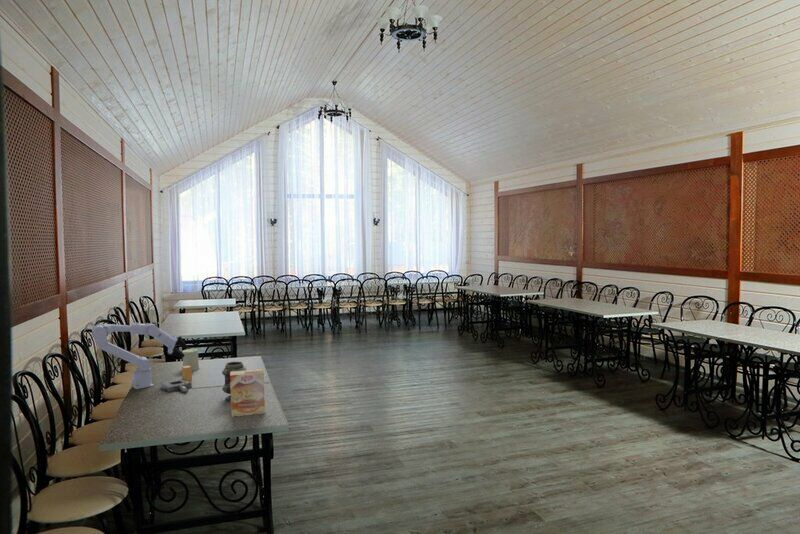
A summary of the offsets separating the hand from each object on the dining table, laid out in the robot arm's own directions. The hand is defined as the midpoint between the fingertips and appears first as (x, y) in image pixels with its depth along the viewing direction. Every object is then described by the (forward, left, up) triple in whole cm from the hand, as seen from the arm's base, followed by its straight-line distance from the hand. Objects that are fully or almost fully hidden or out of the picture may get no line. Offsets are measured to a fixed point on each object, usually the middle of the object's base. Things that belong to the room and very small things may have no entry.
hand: (185, 352), depth 313 cm
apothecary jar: (+5, -53, -16) cm, 56 cm away
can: (+10, +21, -16) cm, 28 cm away
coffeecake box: (0, -78, -16) cm, 80 cm away
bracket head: (-10, -16, -16) cm, 24 cm away
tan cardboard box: (-1, -3, -16) cm, 16 cm away
